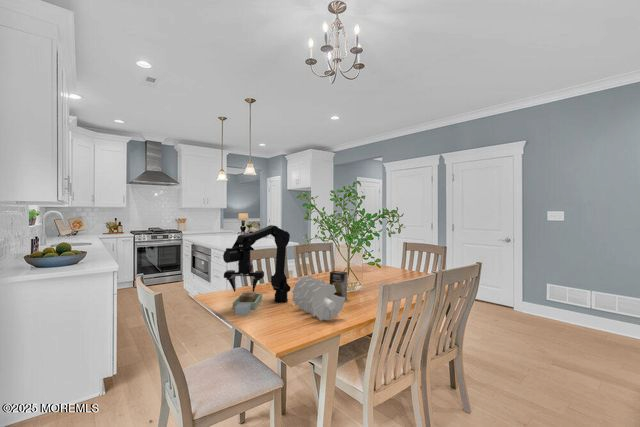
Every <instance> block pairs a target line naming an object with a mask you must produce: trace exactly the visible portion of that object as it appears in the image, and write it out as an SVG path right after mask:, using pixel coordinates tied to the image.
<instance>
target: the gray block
mask: <svg viewBox="0 0 640 427" xmlns="http://www.w3.org/2000/svg"><path fill="white" fill-rule="evenodd" d="M250 308H251V303H238V304H237V306H236V307H235V309H234V315H236V316H249V314H250V312H251V310H250Z"/></svg>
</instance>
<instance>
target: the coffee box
mask: <svg viewBox="0 0 640 427" xmlns="http://www.w3.org/2000/svg"><path fill="white" fill-rule="evenodd" d="M329 283H330V284H331V285H334V286H335V289H336V292H335V293H334V295H337V296H338V297H344V298H345V301H346V300H347V299H348V271H342V270H341V271H340V270H331V271H330V272H329Z"/></svg>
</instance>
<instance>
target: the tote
mask: <svg viewBox="0 0 640 427" xmlns="http://www.w3.org/2000/svg"><path fill="white" fill-rule="evenodd" d="M242 293H243V292H241V293H240V294H239V295H238V296H237V297H236V298H235V300H233V302H232V310H235V307H236V306H237V304H238V303H251V308H250V311H254V310H257V308H258V307H259V305H260V303H261V302H262V300H263V293H262V292H261V293H260V292H258V293H257V292H255V293H256V301H255V302H239V296H240V295H241V294H242Z"/></svg>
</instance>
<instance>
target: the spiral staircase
mask: <svg viewBox="0 0 640 427" xmlns="http://www.w3.org/2000/svg"><path fill="white" fill-rule="evenodd" d="M335 292H336V289H335V286H334V285H331V284H330V282H328V281H327V282H326V281H324V280H323V279H320V278H319V279H316V278H315V277H314V276H313V277H312V276H310V275H309V274H307V275H306V276H300V278H299V280H297V281H295V282H294V287H293V288H292V290H291V293H292V302H294V306H297V307H298V308H299V309H301V311H303V310H304V311H305V312H306V313H308V314H310V315H311V316H312V317H316V318H317V319H319V321H321V322H322V321H331V320H332V319H333V318H336V317H338V315H339V314H340V312H341V311H342V310H343V308H344V304H345V302H346V300H345V298H344V297H338V296H337V295H334V293H335Z"/></svg>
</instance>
